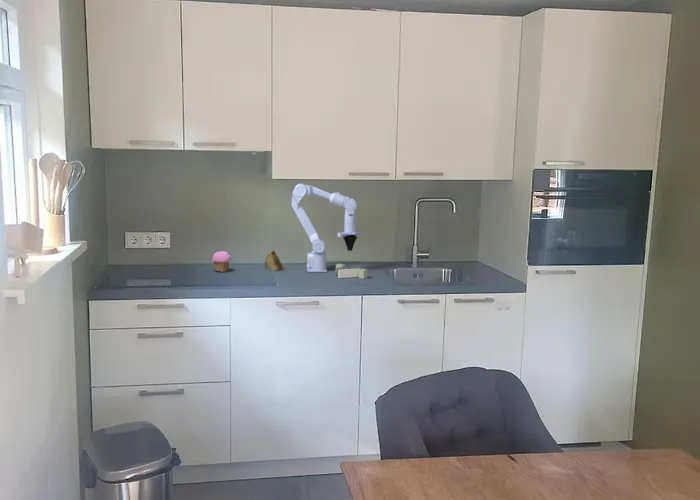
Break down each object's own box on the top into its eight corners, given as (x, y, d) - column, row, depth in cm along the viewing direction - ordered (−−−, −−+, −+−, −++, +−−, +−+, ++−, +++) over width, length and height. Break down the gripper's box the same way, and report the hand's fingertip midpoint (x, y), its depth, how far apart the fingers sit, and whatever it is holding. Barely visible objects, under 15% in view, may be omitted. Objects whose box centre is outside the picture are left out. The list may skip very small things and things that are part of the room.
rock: (258, 263, 329) (262, 263, 319) (268, 249, 330) (272, 249, 320) (276, 275, 331) (280, 276, 322) (285, 261, 333) (290, 262, 323)
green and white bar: (363, 278, 307) (363, 270, 307) (335, 272, 322) (335, 264, 321) (367, 278, 309) (367, 269, 308) (339, 271, 324) (339, 263, 323)
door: (360, 276, 311) (360, 268, 310) (339, 278, 306) (339, 269, 306) (359, 276, 312) (360, 267, 311) (338, 277, 307) (338, 268, 307)
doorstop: (345, 278, 309) (345, 269, 308) (336, 276, 311) (336, 268, 311) (350, 276, 313) (351, 268, 312) (342, 275, 316) (342, 266, 315)
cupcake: (234, 271, 318) (234, 250, 316) (223, 273, 310) (223, 253, 308) (219, 269, 322) (219, 249, 320) (208, 271, 314) (208, 251, 312)
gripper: (344, 224, 314) (344, 252, 316) (366, 222, 323) (366, 250, 325) (334, 223, 319) (334, 251, 321) (356, 221, 329) (356, 248, 331)
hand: (349, 250), depth 324 cm, fingers closed
